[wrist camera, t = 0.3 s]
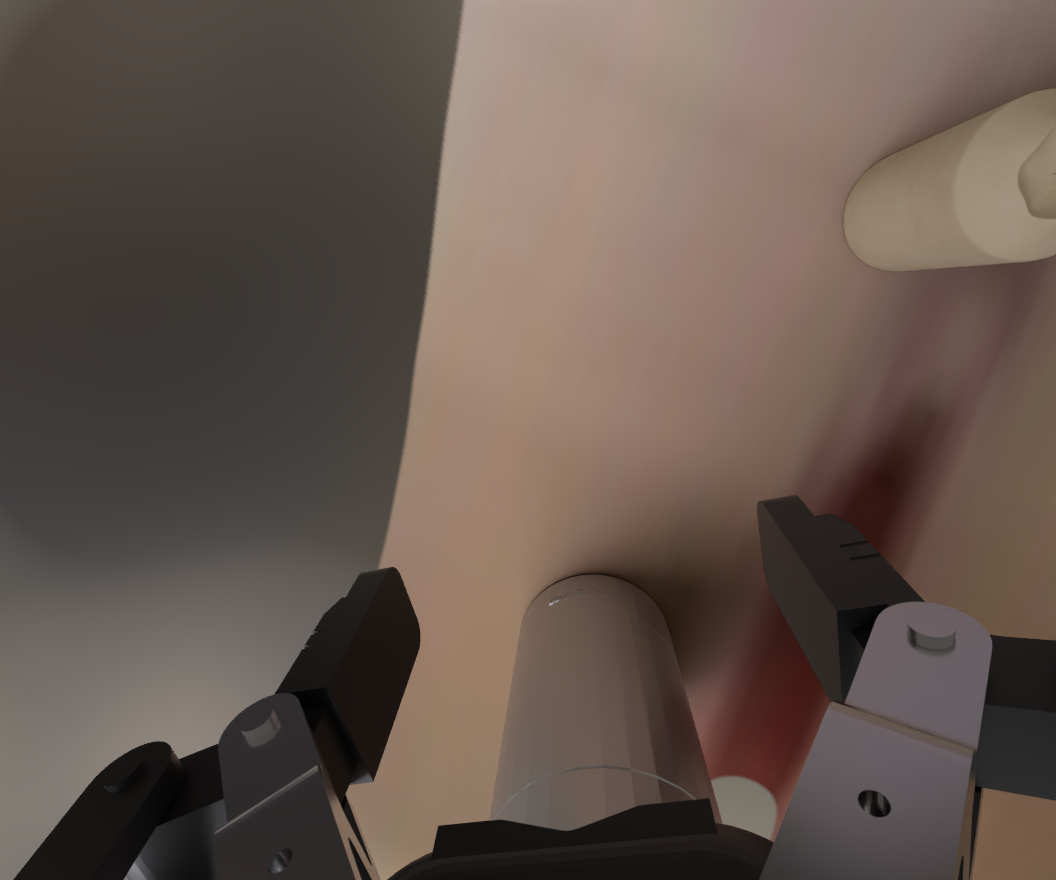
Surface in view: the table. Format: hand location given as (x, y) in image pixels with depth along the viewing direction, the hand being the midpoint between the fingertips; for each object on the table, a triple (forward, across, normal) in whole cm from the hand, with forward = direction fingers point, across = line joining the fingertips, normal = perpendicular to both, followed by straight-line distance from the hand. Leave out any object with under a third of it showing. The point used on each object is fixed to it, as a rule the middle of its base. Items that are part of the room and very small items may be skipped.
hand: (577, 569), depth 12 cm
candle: (+20, +17, +3) cm, 27 cm away
